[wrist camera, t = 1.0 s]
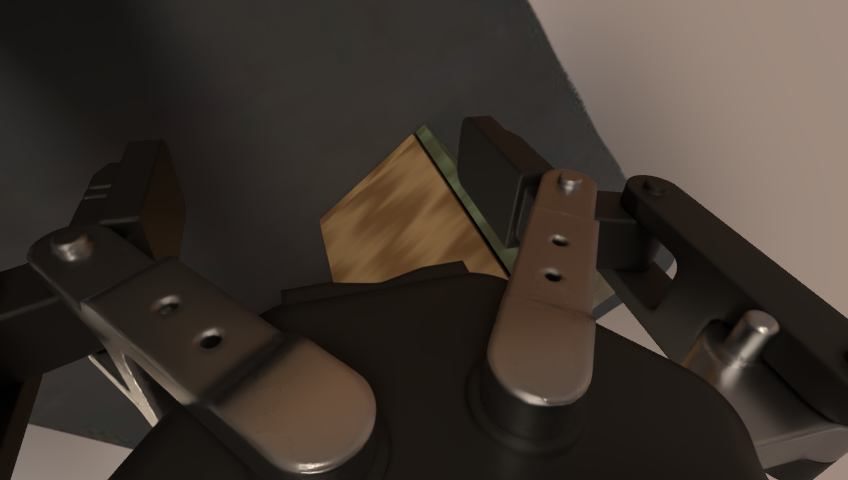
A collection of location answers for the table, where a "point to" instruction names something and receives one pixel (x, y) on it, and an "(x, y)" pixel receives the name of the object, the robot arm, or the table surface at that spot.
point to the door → (507, 256)
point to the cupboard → (404, 223)
